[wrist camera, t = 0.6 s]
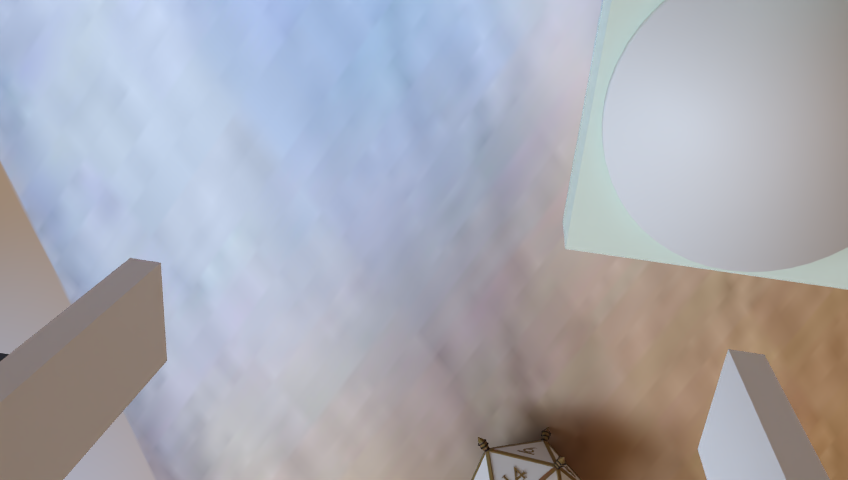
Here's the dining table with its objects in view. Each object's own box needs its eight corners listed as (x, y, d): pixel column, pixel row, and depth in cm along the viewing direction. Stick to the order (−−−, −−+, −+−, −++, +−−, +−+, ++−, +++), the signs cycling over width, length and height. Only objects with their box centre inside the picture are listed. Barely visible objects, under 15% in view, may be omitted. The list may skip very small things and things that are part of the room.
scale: (628, -139, 33) (658, -167, 25) (978, -107, 31) (1135, -126, 23) (562, 220, 40) (568, 292, 31) (848, 260, 38) (932, 347, 30)
